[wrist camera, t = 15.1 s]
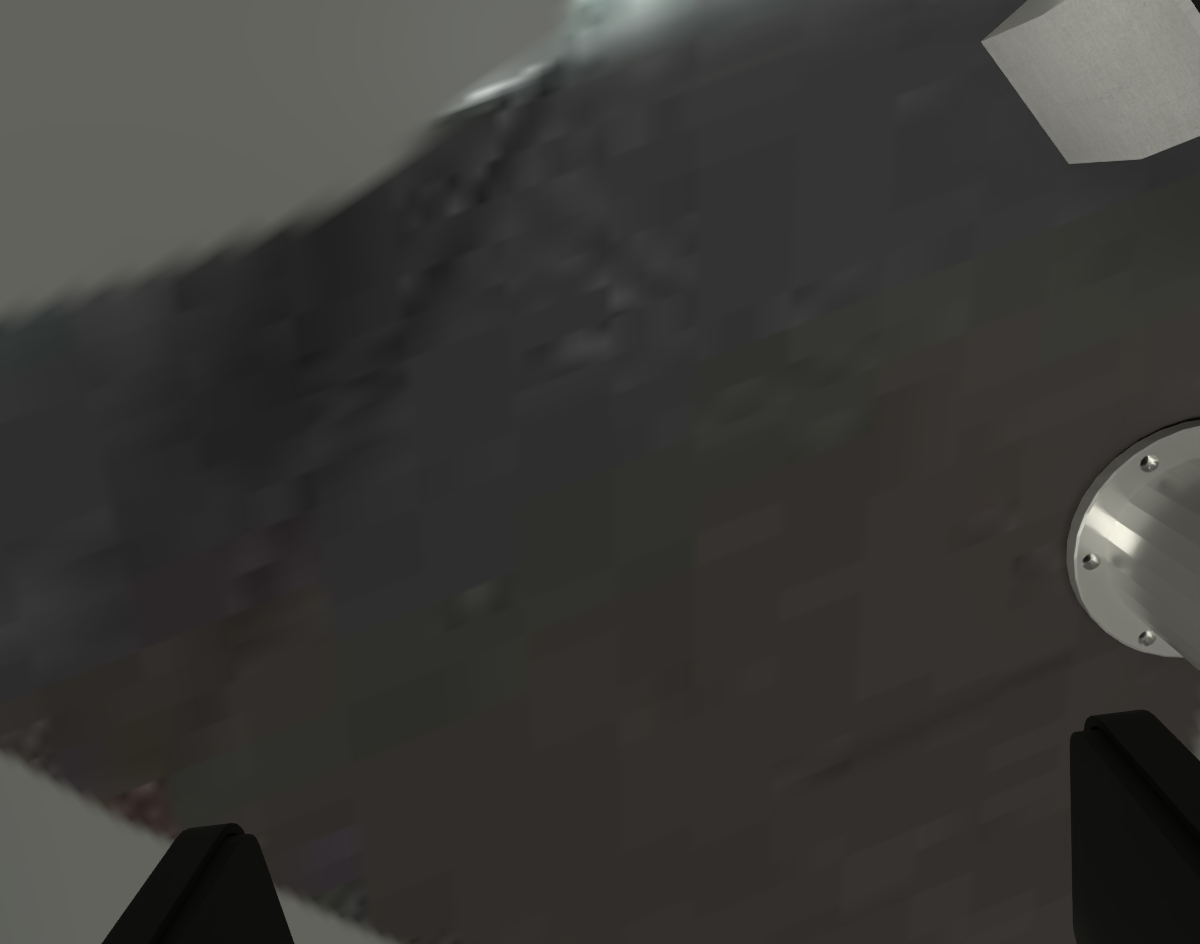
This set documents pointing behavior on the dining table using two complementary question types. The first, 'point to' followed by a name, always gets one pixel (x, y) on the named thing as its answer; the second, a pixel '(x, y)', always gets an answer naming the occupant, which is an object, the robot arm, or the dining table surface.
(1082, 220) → the dining table surface
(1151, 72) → the white paper bag
